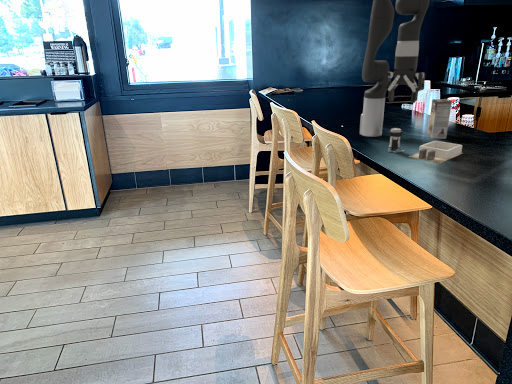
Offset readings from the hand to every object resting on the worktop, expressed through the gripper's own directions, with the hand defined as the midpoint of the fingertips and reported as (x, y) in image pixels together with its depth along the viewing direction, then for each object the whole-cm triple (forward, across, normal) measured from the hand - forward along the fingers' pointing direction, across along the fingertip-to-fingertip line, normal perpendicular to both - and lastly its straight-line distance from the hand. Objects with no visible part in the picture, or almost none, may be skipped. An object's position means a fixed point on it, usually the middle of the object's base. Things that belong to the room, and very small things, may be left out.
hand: (401, 101), depth 141 cm
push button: (+21, +1, -1) cm, 21 cm away
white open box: (+19, -12, -10) cm, 25 cm away
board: (+20, -12, -7) cm, 25 cm away
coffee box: (+20, +2, -40) cm, 45 cm away
